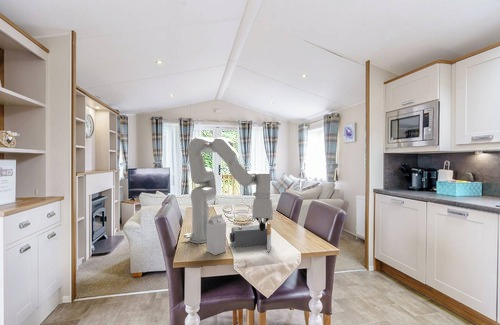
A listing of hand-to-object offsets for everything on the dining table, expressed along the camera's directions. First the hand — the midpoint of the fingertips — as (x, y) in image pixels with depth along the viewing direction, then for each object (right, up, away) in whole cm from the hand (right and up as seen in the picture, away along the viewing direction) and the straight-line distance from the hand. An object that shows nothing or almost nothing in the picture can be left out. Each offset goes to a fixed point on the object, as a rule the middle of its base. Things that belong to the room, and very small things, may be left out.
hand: (262, 230), depth 141 cm
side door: (+4, -10, +3) cm, 12 cm away
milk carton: (-24, -11, -3) cm, 26 cm away
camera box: (-6, -10, +11) cm, 16 cm away
